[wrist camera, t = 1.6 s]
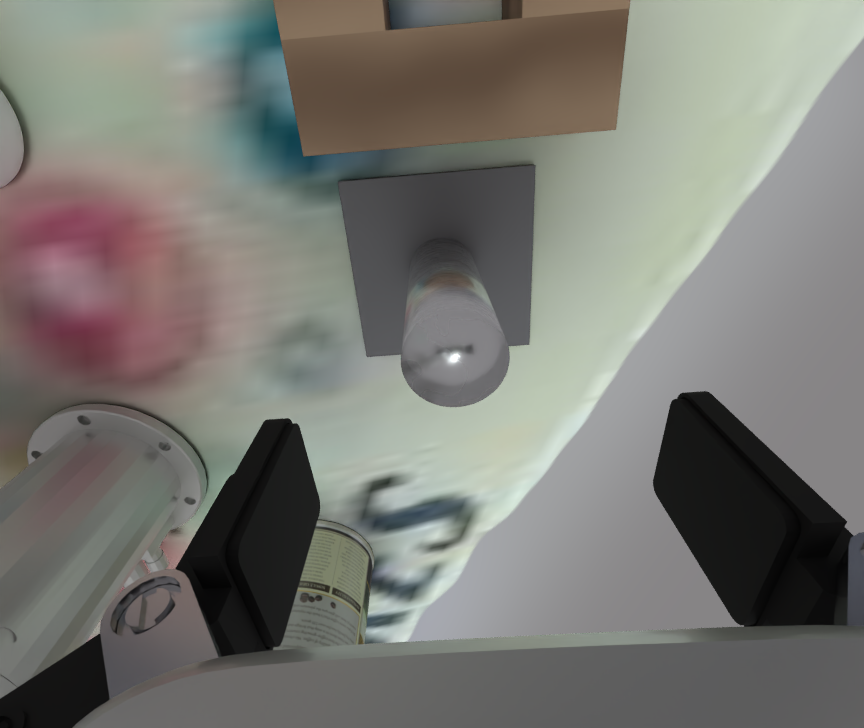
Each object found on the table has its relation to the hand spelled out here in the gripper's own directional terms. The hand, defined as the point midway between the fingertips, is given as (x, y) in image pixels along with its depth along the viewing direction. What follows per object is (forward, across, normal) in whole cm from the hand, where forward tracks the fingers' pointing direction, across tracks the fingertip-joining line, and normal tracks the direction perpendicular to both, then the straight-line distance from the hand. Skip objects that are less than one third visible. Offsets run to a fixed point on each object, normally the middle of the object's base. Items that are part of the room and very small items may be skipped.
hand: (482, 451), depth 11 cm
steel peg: (+17, +1, 0) cm, 17 cm away
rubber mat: (+18, +1, 0) cm, 18 cm away
